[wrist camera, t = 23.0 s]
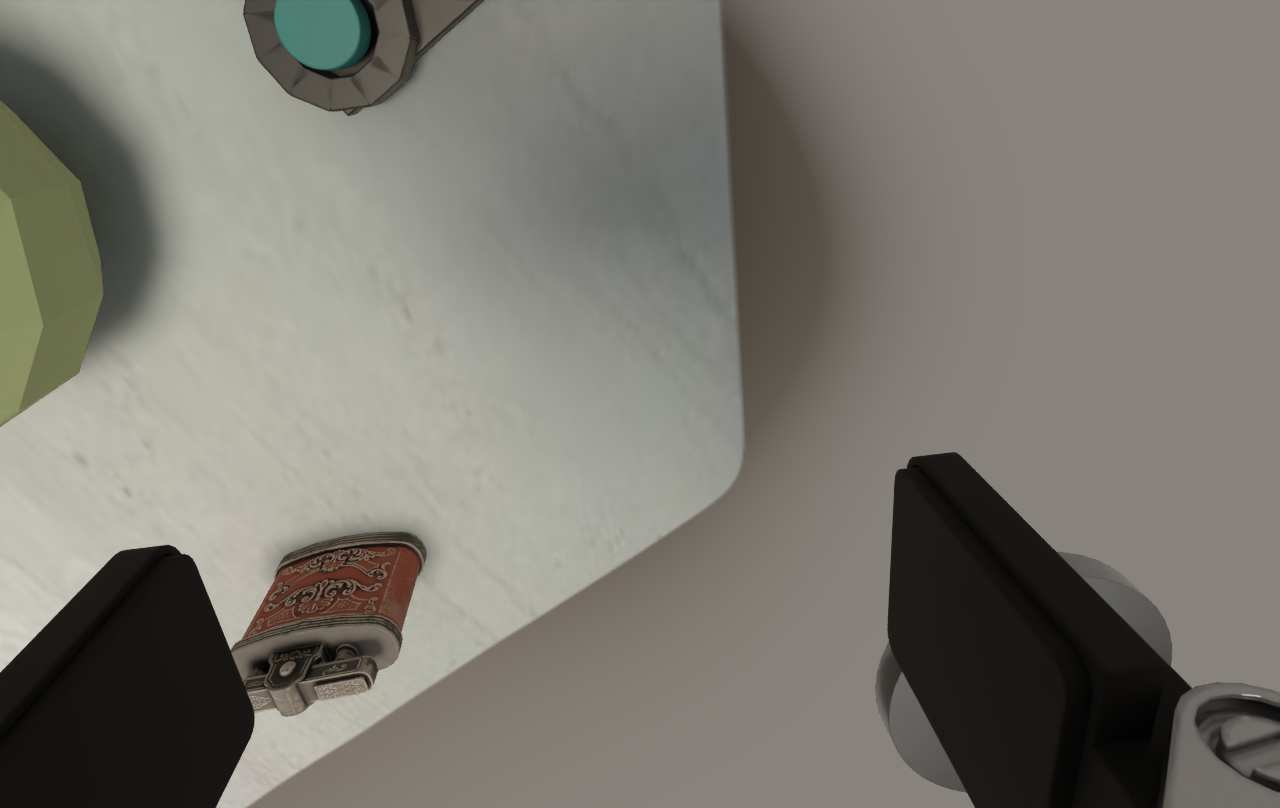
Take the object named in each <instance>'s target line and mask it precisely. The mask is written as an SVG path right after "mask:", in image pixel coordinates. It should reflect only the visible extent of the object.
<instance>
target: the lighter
mask: <svg viewBox="0 0 1280 808" xmlns="http://www.w3.org/2000/svg"><path fill="white" fill-rule="evenodd" d="M425 559H426V549H425V547H424V545H423V543H422V542H421V541H420V540H419V539H418V538H417V537H416V536H414V535H412V534H409V533H403V532H396V533H370V534H362V535H354V536H346V537H341V538H337V539H333V540H329V541H325V542H321V543H317V544H314V545H311V546H308V547H306V548H303V549H300V550H298V551H295V552H292V553H290V554H288V555H286V556H285V557H284V558H283V560H282V561H281V563H280V564H279V566H278V568H277V570H276V571H275V577H274V579H275V581H274V582H273V584H272V586H271V588H270V590H269V591H268V593H267V595H266V597H265V599H264V600H263V602H262V604H261V606H260V607H259V609H258V611H257V613H256V615H255V616H254V618H253V620H252V622H251V624H250V625H249V627H248V629H247V631H246V633H245V634H244V636H243V638H242V640H240V641H239V642H237V643H235V645H234V646H233V648H232V649H231V653H232V656H233V658H234V661H235V663H236V666H237V668H238V671H239V673H240V676H241V678H242V681H243V683H244V685H245V688H246V690H247V693H248V695H249V698H250V700H251V703H252V706H253V709H254V713H257V712H262V711H267V710H273V709H277V710H278V711H280V713H281V715H282V716H286V717H288V716H293V715H297V714H299V713H301V712H303V711H304V710H306V709H307V708H308V707H309V706H310V705H311V704H313V703H314V702H315V701H323V700H328V699H334V698H339V697H344V696H349V695H355V694H360V693H364V692H366V691H370V690H371V689H372V688H373V685H374V682H375V678H376V675H377V672H378V670H381V669H384V668H387V667H389V666H390V665H392V664H394V662H395V661H396V660H397V658H398V655H399V652H400V648H401V644H402V640H403V639H402V634H401V631H402V627H403V624H404V621H405V617H406V614H407V610H408V607H409V603H410V600H411V596H412V593H413V589H414V586H415V582H416V579H417V577H418V576H419V575H420V573H421V572H422V570H423V567H424V563H425Z"/></svg>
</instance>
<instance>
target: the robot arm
mask: <svg viewBox="0 0 1280 808" xmlns="http://www.w3.org/2000/svg"><path fill="white" fill-rule="evenodd" d="M893 505H894V506H893V526H892V546H891V566H890V586H889V608H888V638H889V643H890V647H891V650H892V653H893V655H894V657H895V659H896V661H897V663H898V665H899V667H900V668H901V670H902V672H903V674H904V676H905V678H906V680H907V682H908V683H909V685H910V687H911V689H912V691H913V693H914V695H915V696H916V698H917V700H918V702H919V704H920V706H921V708H922V710H923V711H924V713H925V715H926V717H927V719H928V721H929V723H930V724H931V726H932V728H933V730H934V732H935V734H936V736H937V737H938V739H939V741H940V743H941V745H942V747H943V749H944V751H945V752H946V754H947V756H948V758H949V760H950V762H951V764H952V765H953V767H954V769H955V771H956V773H957V775H958V777H959V779H960V780H961V782H962V784H963V786H964V788H965V790H966V792H967V793H968V795H969V797H970V799H971V801H972V803H973V805H974V806H975V808H1280V693H1279V692H1276V691H1274V690H1270V689H1265V688H1261V687H1257V686H1251V685H1247V684H1243V683H1220V682H1216V683H1211V684H1206V685H1201V686H1196V687H1194V688H1192V686H1191V685H1190V684H1188V683H1187V682H1185V681H1184V680H1183V679H1182V678H1181V677H1180V676H1179V675H1178V674H1177V673H1176V672H1175V671H1174V670H1173V669H1172V667H1171V666H1170V665H1169V664H1168V663H1167V662H1166V661H1165V660H1164V659H1163V658H1162V657H1161V656H1160V655H1159V654H1158V653H1157V652H1156V651H1155V650H1154V649H1153V648H1152V647H1151V646H1150V645H1149V644H1148V643H1147V642H1146V641H1145V640H1144V639H1143V638H1142V637H1141V636H1140V635H1139V634H1138V633H1137V632H1136V631H1135V630H1134V629H1133V628H1132V627H1131V626H1130V625H1129V624H1128V623H1127V622H1126V621H1125V620H1124V619H1123V618H1122V617H1121V616H1120V615H1119V614H1118V613H1117V612H1116V611H1115V610H1114V609H1113V608H1112V607H1111V606H1110V605H1109V604H1108V603H1107V602H1106V601H1105V600H1104V599H1103V598H1102V597H1101V596H1100V595H1099V594H1098V593H1097V592H1096V591H1095V590H1094V589H1093V588H1092V587H1091V586H1090V585H1089V584H1088V583H1087V582H1086V581H1085V580H1084V579H1083V578H1082V577H1081V576H1080V575H1079V574H1078V573H1077V572H1076V571H1075V570H1074V569H1073V568H1072V567H1071V566H1070V565H1069V564H1068V563H1067V562H1066V561H1065V560H1064V559H1063V558H1062V557H1061V556H1060V555H1059V554H1058V553H1057V552H1056V551H1055V550H1054V549H1053V548H1052V547H1051V546H1050V545H1049V544H1048V543H1047V542H1046V541H1045V540H1044V539H1043V538H1042V537H1041V536H1040V535H1039V534H1038V533H1037V532H1036V531H1035V530H1034V529H1033V528H1032V527H1031V526H1030V525H1029V524H1028V523H1027V522H1026V521H1025V520H1024V519H1023V518H1022V517H1021V516H1020V515H1019V514H1018V513H1017V512H1016V511H1015V510H1014V509H1013V508H1012V507H1011V506H1010V505H1009V504H1008V503H1007V502H1006V501H1005V500H1004V499H1003V498H1002V497H1001V496H1000V495H999V494H998V493H997V492H996V491H995V490H994V489H993V488H992V487H991V486H990V485H989V484H988V483H987V482H986V481H985V480H984V479H983V478H982V477H981V476H980V475H979V474H978V473H977V472H976V471H975V470H974V469H973V468H972V467H971V466H970V465H969V464H968V463H967V462H966V461H965V460H964V459H963V458H962V457H961V456H960V455H959V454H957V453H954V452H951V453H943V454H934V455H926V456H917V457H912V458H911V459H910V460H909V463H908V465H907V469H899V470H898V471H897V473H896V475H895V485H894V504H893ZM254 718H255V717H254V709H253V706H252V703H251V700H250V698H249V695H248V693H247V690H246V688H245V685H244V683H243V681H242V678H241V676H240V673H239V671H238V668H237V666H236V663H235V661H234V658H233V656H232V653H231V651H230V648H229V646H228V643H227V641H226V638H225V636H224V633H223V631H222V628H221V626H220V623H219V621H218V618H217V616H216V614H215V611H214V609H213V606H212V604H211V601H210V599H209V596H208V594H207V591H206V589H205V586H204V584H203V581H202V579H201V576H200V574H199V571H198V569H197V566H196V564H195V562H194V560H193V559H192V558H191V557H190V556H189V555H186V554H181V553H180V551H178V550H177V549H176V548H175V547H173V546H170V545H164V546H155V547H147V548H138V549H130V550H124V551H120V552H119V553H117V554H116V555H114V556H113V557H112V558H111V559H110V560H109V561H108V562H107V564H106V565H105V566H104V567H103V568H102V569H101V570H100V571H99V572H98V573H97V574H96V575H95V576H94V577H93V578H92V579H91V580H90V581H89V582H88V583H87V584H86V585H85V586H84V587H83V588H82V589H81V590H80V591H79V592H78V593H77V594H76V595H75V596H74V597H73V598H72V599H71V601H70V602H69V603H68V604H67V605H66V606H65V607H64V608H63V609H62V610H61V611H60V612H59V613H58V614H57V615H56V616H55V617H54V618H53V619H52V620H51V621H50V622H49V623H48V624H47V625H46V626H45V627H44V628H43V629H42V630H41V631H40V632H39V633H38V634H37V635H36V636H35V638H34V639H33V640H32V641H31V642H30V643H29V644H28V645H27V646H26V647H25V648H24V649H23V650H22V651H21V652H20V653H19V654H18V655H17V656H16V657H15V658H14V659H13V660H12V661H11V662H10V663H9V664H8V665H7V666H6V667H5V668H4V669H3V670H2V671H1V672H0V808H216V806H217V804H218V802H219V800H220V798H221V796H222V794H223V792H224V790H225V788H226V786H227V784H228V782H229V780H230V778H231V776H232V774H233V772H234V770H235V768H236V766H237V764H238V762H239V760H240V758H241V756H242V754H243V752H244V750H245V748H246V746H247V744H248V742H249V740H250V738H251V735H252V732H253V728H254Z"/></svg>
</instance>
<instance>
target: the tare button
mask: <svg viewBox="0 0 1280 808" xmlns="http://www.w3.org/2000/svg"><path fill="white" fill-rule="evenodd" d="M274 23H275V28H276V31H277V34H278V37H279V39H280V41H281V43H282V44H283V46H284V47H285V49H286V50H287V51H288V52H289V53H290V54H291V55H292V56H293V57H294V58H295V59H296V60H297V61H299V62H301V63H302V64H304V65H306V66H308V67H311V68H314V69H319V70H335V69H345V68H348V67H351V66H353V65H355V64H356V63H358V62H359V61H360V60H361V59H362V58H363V57H364V55H365V54H366V52H367V50H368V48H369V45H370V41H371V24H370V19H369V16H368V14H367V11H366V9H365V7H364V6H363V4H362V3H361V1H360V0H276V3H275V8H274Z"/></svg>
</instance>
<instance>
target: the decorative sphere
mask: <svg viewBox="0 0 1280 808" xmlns="http://www.w3.org/2000/svg"><path fill="white" fill-rule="evenodd" d="M102 298H103V283H102V271H101V259H100V255H99V251H98V247H97V244H96V240H95V236H94V232H93V228H92V224H91V220H90V217H89V213H88V209H87V205H86V201H85V197H84V193H83V189H82V186H81V182H80V181H79V180H78V179H77V178H76V177H75V176H74V175H73V174H72V173H71V172H70V171H69V170H68V168H67V167H66V166H65V165H64V164H63V163H62V162H61V161H60V160H59V159H58V158H57V157H56V156H55V155H54V154H53V153H52V152H51V151H50V150H49V149H48V148H47V146H46V145H45V144H44V143H43V142H42V141H41V140H40V139H39V138H38V137H37V136H36V135H35V134H34V133H33V132H32V131H31V130H30V129H29V128H28V127H27V126H26V124H25V123H24V122H23V121H22V120H21V119H20V118H19V117H18V116H17V115H16V114H15V113H14V112H13V111H12V110H11V109H9V108H8V107H7V106H6V105H5V104H4V103H3V102H1V101H0V427H1V426H2V425H4V424H5V423H7V422H8V421H10V420H11V419H13V418H14V417H15V416H17V415H18V414H20V413H21V412H23V411H24V410H26V409H27V408H29V407H30V406H31V405H33V404H34V403H36V402H37V401H39V400H40V399H42V398H43V397H44V396H46V395H47V394H49V393H50V392H52V391H53V390H55V389H56V388H58V387H59V386H60V385H62V384H63V383H65V382H66V381H68V380H69V379H71V378H72V377H73V376H75V375H76V374H78V373H79V371H80V367H81V364H82V361H83V358H84V355H85V352H86V348H87V345H88V342H89V339H90V336H91V333H92V330H93V326H94V323H95V320H96V317H97V314H98V311H99V308H100V304H101V301H102Z"/></svg>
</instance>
